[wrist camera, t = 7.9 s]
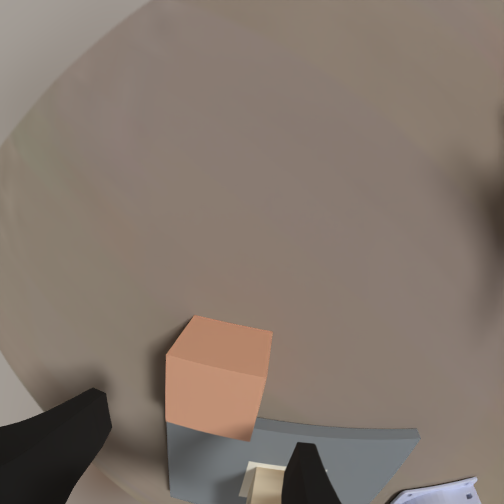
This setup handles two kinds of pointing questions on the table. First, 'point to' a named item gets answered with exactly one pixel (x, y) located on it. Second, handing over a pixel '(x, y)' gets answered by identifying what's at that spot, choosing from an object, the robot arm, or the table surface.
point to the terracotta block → (217, 377)
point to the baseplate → (283, 459)
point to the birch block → (266, 486)
